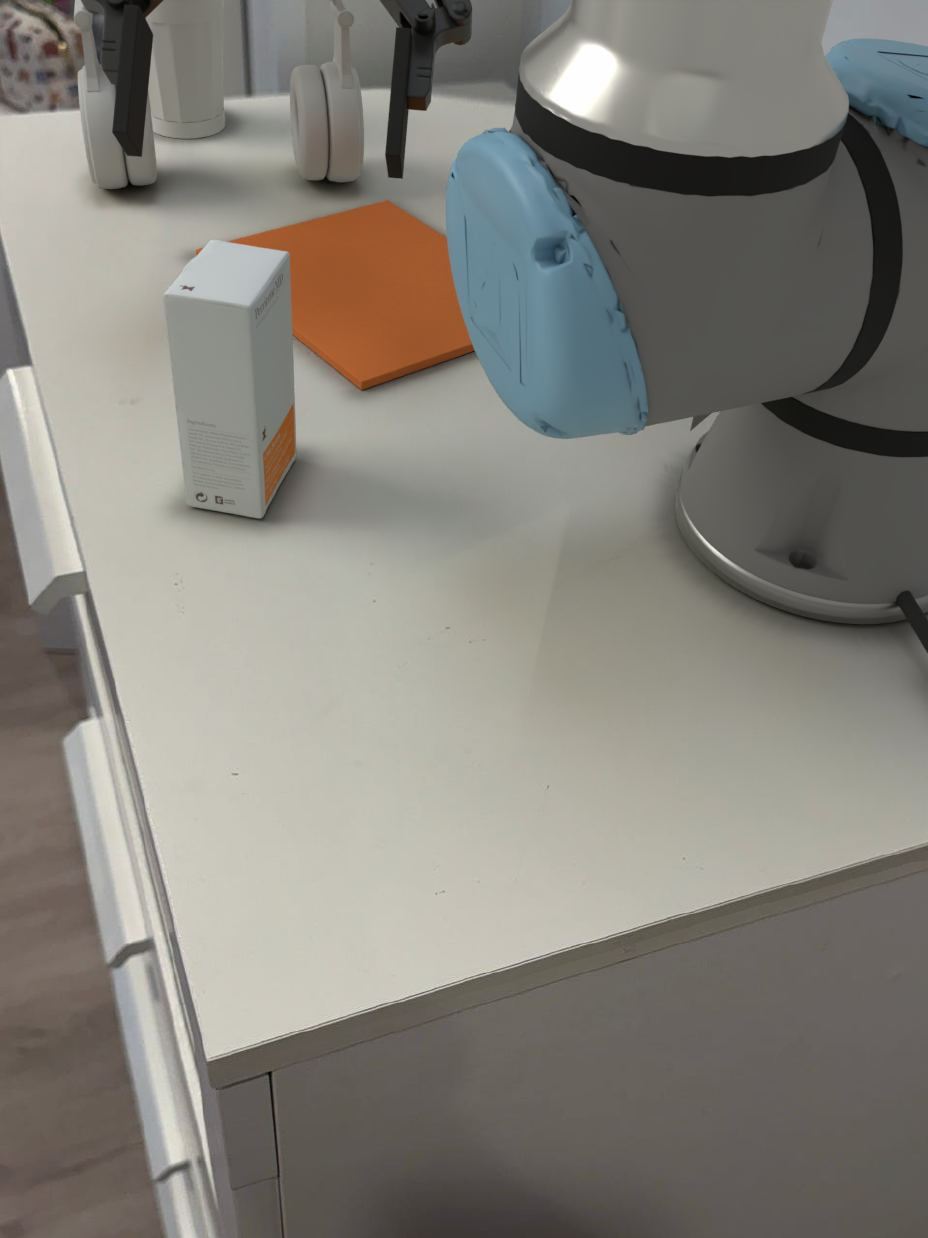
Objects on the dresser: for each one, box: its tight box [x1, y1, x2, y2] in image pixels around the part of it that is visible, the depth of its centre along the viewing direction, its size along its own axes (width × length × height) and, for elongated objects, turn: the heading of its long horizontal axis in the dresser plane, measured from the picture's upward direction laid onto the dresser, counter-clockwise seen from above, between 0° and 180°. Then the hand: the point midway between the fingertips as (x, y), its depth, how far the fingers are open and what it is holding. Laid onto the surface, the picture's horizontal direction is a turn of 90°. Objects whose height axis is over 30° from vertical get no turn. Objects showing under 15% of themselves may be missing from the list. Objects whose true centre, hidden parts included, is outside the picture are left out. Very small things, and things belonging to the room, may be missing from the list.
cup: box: [146, 0, 226, 140], centre depth 94 cm, size 8×8×12 cm
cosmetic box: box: [162, 239, 298, 520], centre depth 58 cm, size 6×4×12 cm
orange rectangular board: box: [195, 199, 475, 391], centre depth 79 cm, size 20×16×1 cm
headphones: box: [73, 0, 365, 190], centre depth 83 cm, size 20×8×19 cm, turn 103°
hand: (260, 156), depth 60 cm, fingers open, 13 cm apart
